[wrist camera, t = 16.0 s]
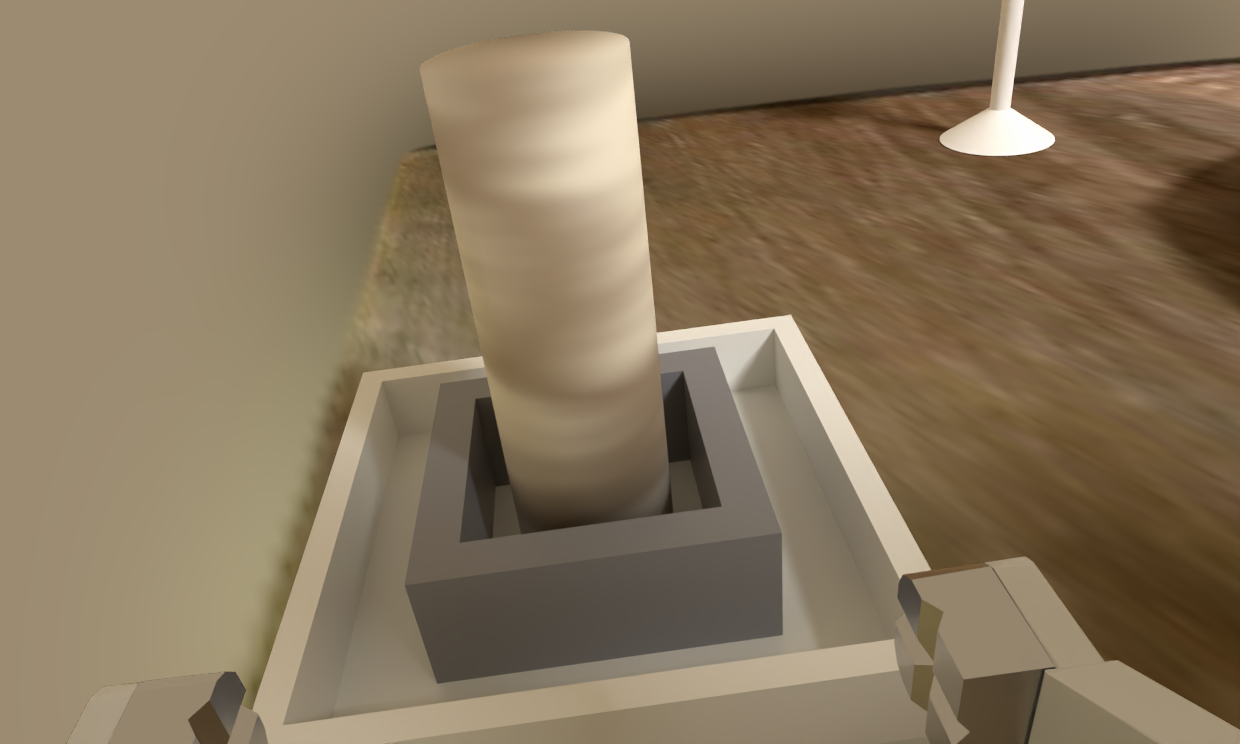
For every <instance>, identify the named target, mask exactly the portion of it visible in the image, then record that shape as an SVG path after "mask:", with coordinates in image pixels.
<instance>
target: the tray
mask: <svg viewBox="0 0 1240 744" xmlns="http://www.w3.org/2000/svg"><path fill="white" fill-rule="evenodd" d="M657 343H658V354H659V365H660V375H661V386H662V397H663V408H664V418H665V429H666V440H667V450H668V461H669V472H670V483H671V493H672V504H673V513H672V514H665V515H657V516H650V517H643V518H636V519H629V520H621V521H614V522H607V523H600V524H592V525H585V526H578V527H571V528H563V529H556V530H549V531H542V532H535V533H527V534H521V531H520V527H519V522H518V517H517V513H516V508H515V504H514V499H513V495H512V490H511V485H510V481H509V476H508V472H507V467H506V463H505V458H504V453H503V449H502V444H501V440H500V435H499V431H498V426H497V421H496V417H495V412H494V408H493V403H492V398H491V394H490V389H489V385H488V380H487V376H486V371H485V366H484V362H483V357H475V358H468V359H460V360H453V361H445V362H438V363H430V364H423V365H416V366H408V367H401V368H393V369H386V370H379V371H371V372H364V373H363V375H362V378H361V381H360V384H359V387H358V390H357V393H356V396H355V399H354V402H353V405H352V408H351V411H350V414H349V417H348V420H347V423H346V426H345V429H344V432H343V435H342V439H341V442H340V445H339V448H338V451H337V454H336V457H335V460H334V463H333V466H332V469H331V472H330V475H329V478H328V481H327V484H326V487H325V490H324V493H323V496H322V499H321V502H320V505H319V508H318V511H317V514H316V517H315V520H314V524H313V527H312V530H311V533H310V536H309V539H308V542H307V545H306V548H305V551H304V554H303V557H302V560H301V563H300V566H299V569H298V572H297V575H296V578H295V581H294V584H293V587H292V590H291V593H290V596H289V599H288V602H287V605H286V609H285V612H284V615H283V618H282V621H281V624H280V627H279V630H278V633H277V636H276V639H275V642H274V645H273V648H272V651H271V654H270V657H269V660H268V663H267V666H266V669H265V672H264V675H263V678H262V681H261V684H260V687H259V690H258V693H257V697H256V700H255V703H254V706H253V709H252V711H254V712H256V713H258V715H259V717H260V719H261V721H262V723H263V725H264V727H265V731H266V736H267V741H268V744H930V742H929V740H928V738H927V736H926V733H925V729H926V719H927V711H925V710H924V709H923V708H921V707H920V706H918V705H917V704H916V703H914V702H913V701H911V699H910V697H909V695H908V692H907V690H906V688H905V685H904V683H903V680H902V677H901V674H900V671H899V668H898V664H897V658H896V651H895V645H894V634H895V622H896V621H897V620H898V619H899V618H900V617H901V616H902V615H903V614H904V611H903V608H902V606H901V604H900V602H899V600H898V598H897V594H898V584H899V581H900V579H901V577H902V575H904V574H910V573H917V572H923V571H930V570H931V569H930V567H929V565H928V563H927V562H926V560H925V558H924V556H923V554H922V552H921V551H920V549H919V547H918V545H917V543H916V542H915V540H914V538H913V536H912V534H911V532H910V531H909V529H908V527H907V525H906V523H905V522H904V520H903V518H902V516H901V514H900V513H899V511H898V509H897V507H896V505H895V503H894V502H893V500H892V498H891V496H890V494H889V493H888V491H887V489H886V487H885V485H884V483H883V482H882V480H881V478H880V476H879V474H878V473H877V471H876V469H875V467H874V465H873V463H872V462H871V460H870V458H869V456H868V454H867V453H866V451H865V449H864V447H863V445H862V444H861V442H860V440H859V438H858V436H857V434H856V433H855V431H854V429H853V427H852V425H851V424H850V422H849V420H848V418H847V416H846V414H845V413H844V411H843V409H842V407H841V405H840V404H839V402H838V400H837V398H836V396H835V395H834V393H833V391H832V389H831V387H830V385H829V384H828V382H827V380H826V378H825V376H824V375H823V373H822V371H821V369H820V367H819V365H818V364H817V362H816V360H815V358H814V356H813V355H812V353H811V351H810V349H809V347H808V345H807V344H806V342H805V340H804V338H803V336H802V335H801V333H800V331H799V329H798V327H797V326H796V324H795V322H794V320H793V318H792V316H791V315H787V316H779V317H772V318H764V319H757V320H750V321H742V322H735V323H727V324H720V325H712V326H705V327H698V328H690V329H683V330H675V331H668V332H660V333H657Z"/></svg>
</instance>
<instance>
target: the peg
mask: <svg viewBox="0 0 1240 744" xmlns="http://www.w3.org/2000/svg"><path fill="white" fill-rule="evenodd" d="M420 73H421V78H422V83H423V87H424V92H425V96H426V101H427V105H428V110H429V114H430V119H431V124H432V128H433V133H434V137H435V142H436V147H437V151H438V156H439V160H440V165H441V170H442V174H443V179H444V183H445V188H446V192H447V197H448V202H449V206H450V211H451V215H452V220H453V224H454V229H455V234H456V238H457V243H458V247H459V252H460V257H461V261H462V266H463V270H464V275H465V279H466V284H467V289H468V293H469V298H470V302H471V307H472V311H473V316H474V321H475V325H476V330H477V334H478V339H479V344H480V348H481V353H482V357H483V362H484V366H485V371H486V376H487V380H488V385H489V389H490V394H491V398H492V403H493V408H494V412H495V417H496V421H497V426H498V431H499V435H500V440H501V444H502V449H503V453H504V458H505V463H506V467H507V472H508V476H509V481H510V485H511V490H512V495H513V499H514V504H515V508H516V513H517V517H518V522H519V527H520V531H521V534H527V533H535V532H542V531H549V530H556V529H563V528H571V527H578V526H585V525H592V524H600V523H607V522H614V521H621V520H629V519H636V518H643V517H650V516H657V515H665V514H672V513H673V504H672V493H671V483H670V472H669V461H668V450H667V440H666V429H665V418H664V408H663V397H662V386H661V375H660V365H659V354H658V343H657V332H656V322H655V311H654V300H653V290H652V279H651V268H650V257H649V247H648V236H647V225H646V215H645V204H644V193H643V182H642V172H641V161H640V150H639V139H638V129H637V118H636V107H635V97H634V86H633V75H632V64H631V54H630V44H629V40H628V38H627V37H625V36H623V35H620V34H616V33H611V32H603V31H584V30H583V31H554V32H542V33H532V34H524V35H517V36H510V37H504V38H498V39H493V40H488V41H483V42H478V43H474V44H470V45H466V46H463V47H459V48H456V49H452V50H449V51H446V52H444V53H441V54H438V55H436V56H434V57H432V58H430V59H428V60H427V61H425V62H424V63H423V64H422V65H421V66H420Z"/></svg>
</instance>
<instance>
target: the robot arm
mask: <svg viewBox="0 0 1240 744" xmlns="http://www.w3.org/2000/svg"><path fill="white" fill-rule="evenodd" d="M897 598H898V600H899V602H900V604H901V606H902V608H903V611H904V614H903V615H902V616H901V617H900V618H899V619H898V620H897V621H896V622H895V634H894V645H895V651H896V658H897V664H898V668H899V671H900V674H901V677H902V680H903V683H904V685H905V688H906V690H907V692H908V695H909V697H910V699H911V701H913V702H914V703H916V704H917V705H918V706H920V707H921V708H923V709H924V710H925V711H927V719H926V729H925V733H926V736H927V738H928V740H929V742H930V744H1240V730H1239V729H1238V728H1236V727H1234V726H1232V725H1231V724H1229V723H1227V722H1225V721H1224V720H1222V719H1220V718H1218V717H1217V716H1215V715H1213V714H1211V713H1210V712H1208V711H1206V710H1204V709H1203V708H1201V707H1199V706H1197V705H1196V704H1194V703H1192V702H1190V701H1189V700H1187V699H1185V698H1183V697H1182V696H1180V695H1178V694H1176V693H1175V692H1173V691H1171V690H1169V689H1168V688H1166V687H1164V686H1162V685H1160V684H1159V683H1157V682H1155V681H1153V680H1152V679H1150V678H1148V677H1146V676H1145V675H1143V674H1141V673H1139V672H1138V671H1136V670H1134V669H1132V668H1131V667H1129V666H1127V665H1125V664H1124V663H1122V662H1120V661H1118V660H1114V661H1104V660H1103V658H1102V657H1101V655H1100V654H1099V653H1098V651H1097V650H1096V648H1095V647H1094V646H1093V644H1092V643H1091V641H1090V640H1089V639H1088V637H1087V636H1086V634H1085V633H1084V632H1083V630H1082V629H1081V627H1080V626H1079V625H1078V623H1077V622H1076V620H1075V619H1074V618H1073V616H1072V615H1071V614H1070V612H1069V611H1068V609H1067V608H1066V607H1065V605H1064V604H1063V602H1062V601H1061V600H1060V598H1059V597H1058V595H1057V594H1056V593H1055V591H1054V590H1053V588H1052V587H1051V586H1050V584H1049V583H1048V581H1047V580H1046V579H1045V577H1044V576H1043V574H1042V573H1041V572H1040V570H1039V569H1038V567H1037V566H1036V565H1035V563H1034V562H1033V561H1031V560H1030V559H1028V558H1027V557H1018V558H1011V559H1004V560H998V561H991V562H985V563H983V564H981V563H975V564H969V565H962V566H956V567H949V568H943V569H936V570H930V571H923V572H917V573H910V574H904V575H902V577H901V579H900V581H899V584H898V594H897ZM245 691H246V689H245V688H244V686H243V684H242V682H241V681H240V679H239V677H238V676H237V674H236V672H218V673H210V674H201V675H192V676H184V677H175V678H167V679H158V680H149V681H144V682H137V683H129V684H122V685H121V684H120V685H112V686H104V687H102V688H101V689H100V690H99V691H98V692H96V693H95V694H94V695H93V696H92V697H91V698H90V700H89V701H88V703H87V705H86V707H85V709H84V711H83V713H82V714H81V716H80V718H79V720H78V722H77V724H76V726H75V728H74V729H73V732H72V733H71V735H70V737H69V739H68V741H67V743H66V744H268V741H267V736H266V731H265V727H264V725H263V723H262V721H261V719H260V717H259V715H258V713H256V712H254V711H252V710H250V709H248V708H247V707H245V706H243V705H241V703H242V700H243V697H244V694H245Z"/></svg>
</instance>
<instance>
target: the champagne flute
mask: <svg viewBox="0 0 1240 744" xmlns="http://www.w3.org/2000/svg"><path fill="white" fill-rule="evenodd" d="M1023 6H1024V0H1002V7H1001V16H1000V24H999V33H998V41H997V49H996V57H995V58H996V59H995V66H994V75H993V83H992V91H991V100H990V108H988V109H986V110H984V111H982V112H980V113H979V114H977V115H975V116H973V117H971V118H969V119H968V120H966V121H964V122H962V123H960V124H958V125H957V126H955V127H953V128H951V129H949V130H947V131H946V132H944V133H943V134H942V135H941V136H940V142H941V144H943V145H944V146H945V147H947V148H950V149H952V150H955V151H959V152H963V153H968V154H975V155H986V156H1009V155H1020V154H1028V153H1032V152H1037V151H1040V150H1043V149H1045V148H1047V147H1049V146H1051V145H1052V144H1053V143H1054V141H1055V137H1054V136H1053V135H1052V134H1051V133H1050V132H1048V131H1047V130H1045V129H1044V128H1042V127H1040V126H1039V125H1037V124H1036V123H1034V122H1033V121H1031V120H1029V119H1028V118H1026V117H1025V116H1023V115H1021V114H1020V113H1018V112H1017V111H1015V110H1013V109H1012V108H1010V105H1011V98H1012V90H1013V83H1014V75H1015V67H1016V59H1017V51H1018V44H1019V36H1020V28H1021V21H1022V14H1023Z"/></svg>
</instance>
